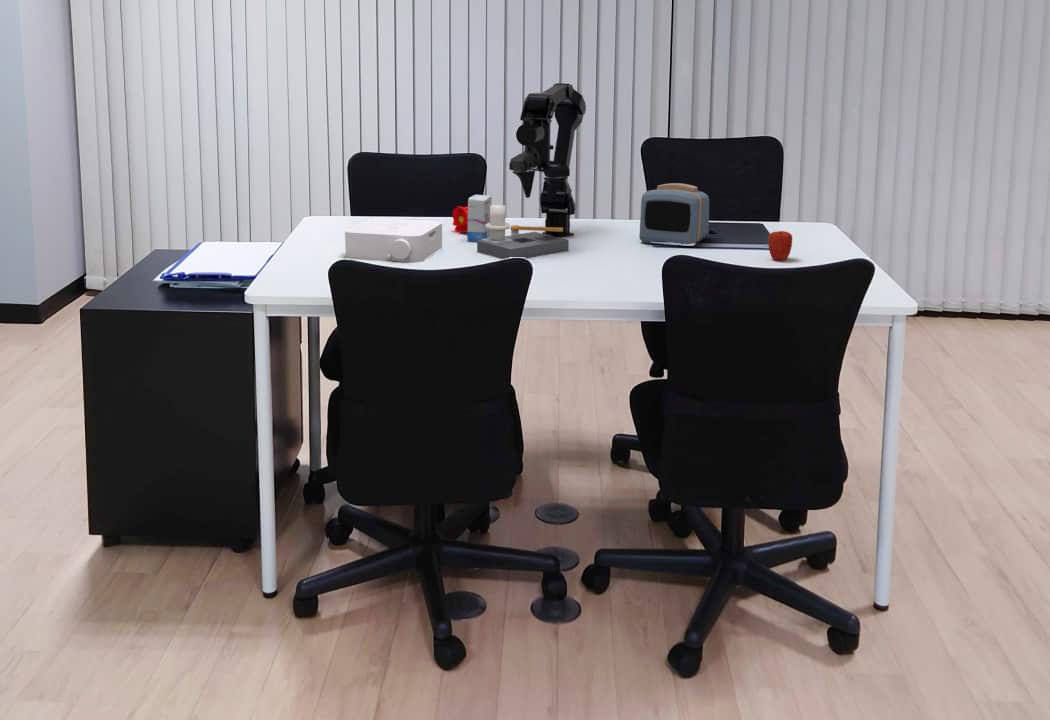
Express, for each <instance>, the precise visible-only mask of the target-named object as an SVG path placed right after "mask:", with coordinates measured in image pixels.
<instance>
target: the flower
mask: <svg viewBox="0 0 1050 720" xmlns="http://www.w3.org/2000/svg"><path fill="white" fill-rule="evenodd" d="M452 220H453V221H452V225H453V226H455V227H454V231H455V233H456V234H457V233H458V234H461V233H468V205H467V206H464V207H463V206H460V205H457V207H456V208H454V209H453V210H452Z"/></svg>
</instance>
